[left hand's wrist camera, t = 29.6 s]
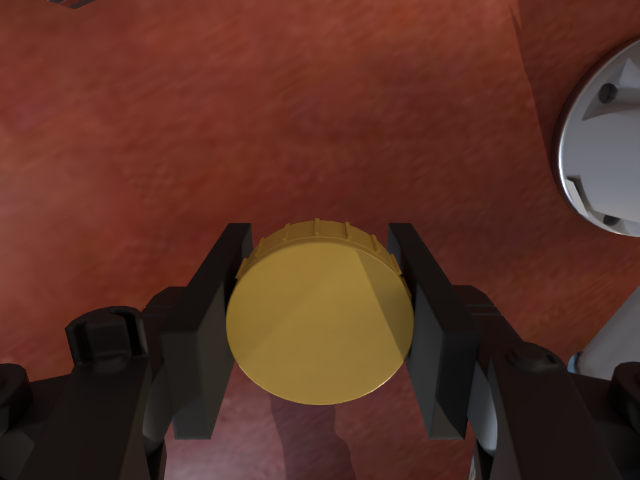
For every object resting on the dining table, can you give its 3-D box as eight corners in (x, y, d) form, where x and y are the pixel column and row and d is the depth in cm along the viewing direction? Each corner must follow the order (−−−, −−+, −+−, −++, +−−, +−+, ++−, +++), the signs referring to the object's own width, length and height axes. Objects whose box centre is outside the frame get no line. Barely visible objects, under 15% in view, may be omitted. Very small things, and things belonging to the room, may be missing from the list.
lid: (206, 322, 12) (188, 357, 10) (288, 183, 10) (282, 199, 9) (345, 391, 13) (348, 433, 11) (439, 272, 11) (457, 301, 10)
